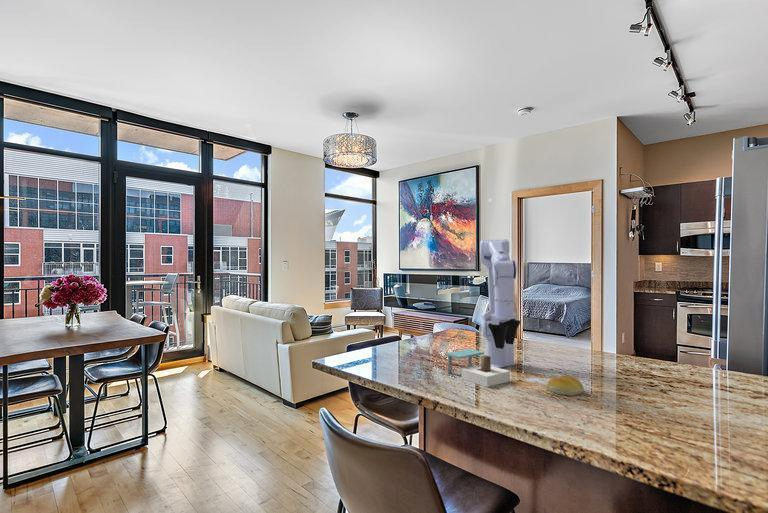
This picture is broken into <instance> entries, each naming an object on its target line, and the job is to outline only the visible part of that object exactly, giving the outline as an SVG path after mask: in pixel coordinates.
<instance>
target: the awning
mask: <svg viewBox="0 0 768 513" xmlns="http://www.w3.org/2000/svg"><path fill="white" fill-rule="evenodd" d="M484 354H485V352H484V351H480V350H476V349H472V348H468V349H467V348H466V349H463V350H455V351H451V352H446V353H445V356H447V374H448V375H452V373H453V358H455V359H457V360H458V359H459V360H461V359H466V358H467V368H468V367H472V366H473V363H472V362H473V361H472V360H473V359H472V357H476V356H483V355H484Z"/></svg>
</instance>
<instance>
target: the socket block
mask: <svg viewBox="0 0 768 513" xmlns="http://www.w3.org/2000/svg"><path fill="white" fill-rule="evenodd" d="M461 380H465V381H467V382H471V383H473V384H477V385H479V386H483V387H485V388H490V387H493V386H497V385H501V384H505V383H509V382H511V371H510V370H508V369H507V370H506V369H503V368H502V367H501V368H497V367H493V366H491V371H490V372H483V371H481V364H476V365H472V367H468V366H467V367H464V368H461Z"/></svg>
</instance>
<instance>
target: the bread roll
mask: <svg viewBox="0 0 768 513" xmlns="http://www.w3.org/2000/svg"><path fill="white" fill-rule="evenodd" d="M546 385H547V386H546V387H547V388H548V389H549V391H550V392H551V393H553V394H557V395H561V396H577V395H582V393H584V390H585V388H584V386H583V383H582V382H581V381H580V380H579V379H577V378H575V377H573V376H570V375H562V376H559V377H554V378H552V379H549V380H548V382H547V384H546Z"/></svg>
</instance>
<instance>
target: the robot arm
mask: <svg viewBox="0 0 768 513" xmlns="http://www.w3.org/2000/svg"><path fill="white" fill-rule="evenodd" d="M479 253H480V254H479V255H480V258H479V259H480V263H481V265H483V266H485V268H486V271H487V286H488V287H487V288H488V289H487V290H488V302H489V303H488V305H489V309H488V310H487V311H486V312H485V313H483V315H482V317H481V336H482V337H483V338H485V356H490V357H491V366H493V367H497V368H501V369H502V368H504V367H509V366H514V365H517V362H515V346H514V343H515V339H516V334H517V332H518V331H517V330H518V328H519V326H520V324H521V320H520V319H519V320H517V319H518V318H517V316H518V314H517V312H515V310H516V309H515V308H516V307H515V280H516V278H517V272H518V271H517V263H516V260H515V259H511V257H510V255H509V254H510V242H509V240H508V239H507V238H504V239H483V238H482V239H481V240H480V242H479Z"/></svg>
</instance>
